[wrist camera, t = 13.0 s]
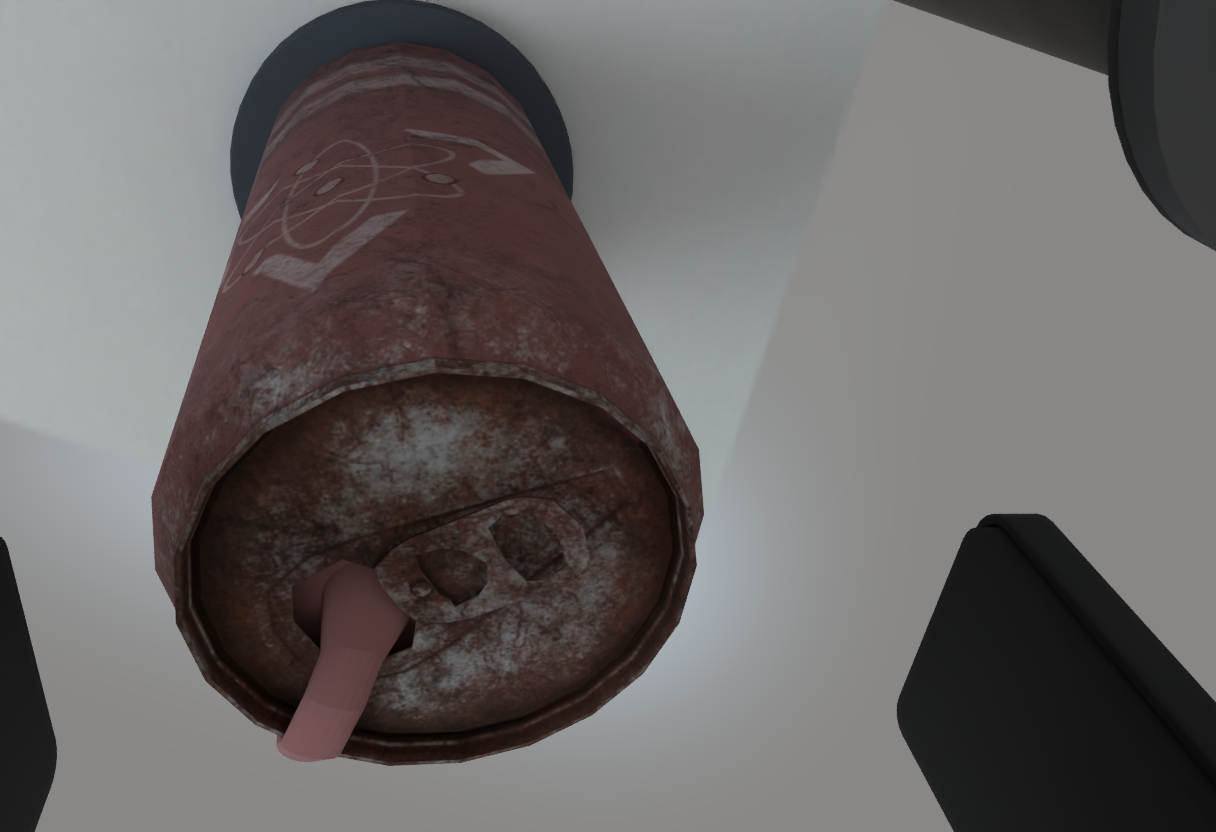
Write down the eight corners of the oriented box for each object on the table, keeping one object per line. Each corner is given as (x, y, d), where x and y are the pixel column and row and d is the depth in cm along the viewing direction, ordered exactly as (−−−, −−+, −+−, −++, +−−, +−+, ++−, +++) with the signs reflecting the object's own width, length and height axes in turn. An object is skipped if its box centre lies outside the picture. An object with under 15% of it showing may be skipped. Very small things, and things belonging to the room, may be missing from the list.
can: (222, 250, 22) (46, 755, 10) (330, -19, 19) (265, 232, 8) (466, 348, 24) (553, 841, 12) (588, 121, 22) (837, 468, 10)
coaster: (586, 17, 21) (591, 23, 21) (553, 327, 25) (557, 337, 24) (220, -21, 19) (216, -16, 19) (244, 319, 23) (242, 330, 23)
